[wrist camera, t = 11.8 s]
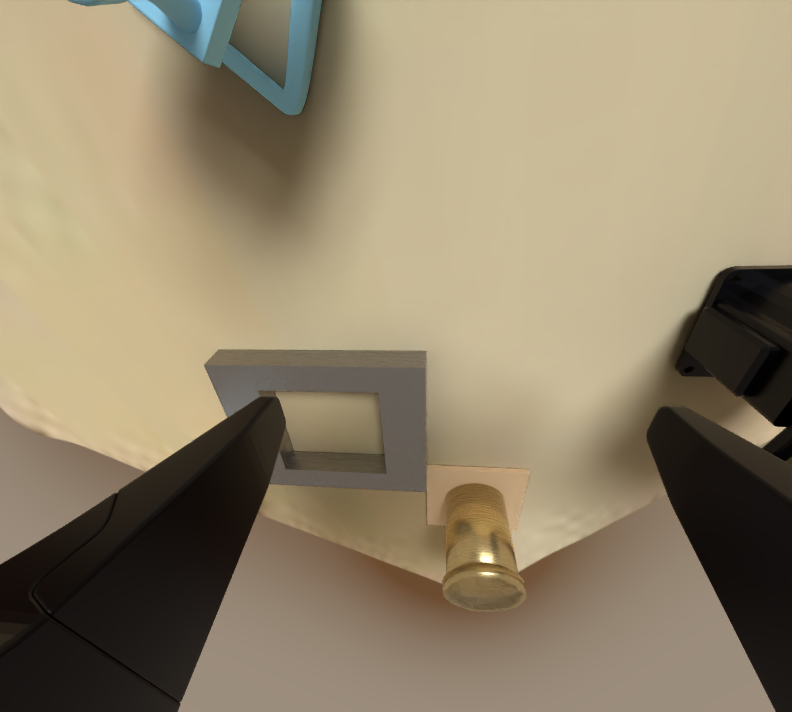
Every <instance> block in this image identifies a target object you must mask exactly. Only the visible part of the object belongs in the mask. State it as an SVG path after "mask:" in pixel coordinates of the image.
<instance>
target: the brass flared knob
mask: <svg viewBox="0 0 792 712" xmlns="http://www.w3.org/2000/svg"><path fill="white" fill-rule="evenodd" d="M445 533H446V573H447V574H446V575H445V576H444V578H443V581H442V586H443V595H444V597H445V598H446V599H447V600H448V601H449V602H451V603H452V604H454V605H456V606H458V607H461V608H464V609H468V610H473V611H481V612H497V611H504V610H509V609H512V608H515V607H517V606H519V605H520V604H522V603H523V602H524V601H525V599H526V597H527V593H526V588H525V583H524V580H523V579H522V578H521V577H520V576H519V575H518V570H517V565H516V559H515V554H514V548H513V543H512V538H511V532H510V527H509V521H508V516H507V511H506V505H505V500H504V496H503V495H502V493H501V492H500V491H499V490H497V489H496V488H494V487H492V486H489V485H485V484H479V483H469V484H463V485H459V486H457V487H455V488H453V489H451V490H450V491H449V492H448V493H447V495H446V496H445Z"/></svg>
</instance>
